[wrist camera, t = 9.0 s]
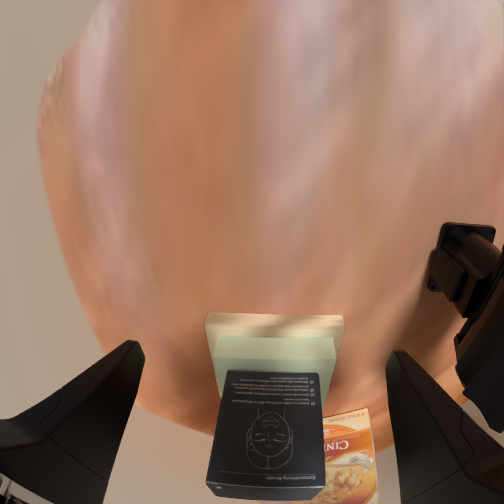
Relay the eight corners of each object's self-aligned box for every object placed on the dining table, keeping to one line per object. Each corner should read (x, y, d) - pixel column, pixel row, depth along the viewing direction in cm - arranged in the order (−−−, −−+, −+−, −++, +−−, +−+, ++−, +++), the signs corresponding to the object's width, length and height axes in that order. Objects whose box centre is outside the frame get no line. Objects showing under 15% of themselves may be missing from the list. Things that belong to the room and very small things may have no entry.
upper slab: (332, 336, 23) (336, 358, 21) (320, 397, 27) (321, 416, 25) (218, 335, 24) (212, 356, 22) (231, 395, 29) (227, 413, 26)
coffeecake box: (367, 406, 31) (381, 537, 14) (371, 425, 34) (381, 536, 17) (263, 425, 35) (249, 546, 18) (279, 442, 38) (269, 547, 21)
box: (231, 401, 25) (214, 497, 16) (226, 367, 22) (202, 482, 13) (311, 404, 24) (312, 502, 15) (320, 370, 21) (327, 488, 12)
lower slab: (340, 310, 24) (344, 328, 22) (323, 385, 30) (324, 402, 28) (210, 307, 26) (204, 324, 24) (224, 382, 31) (220, 398, 29)
